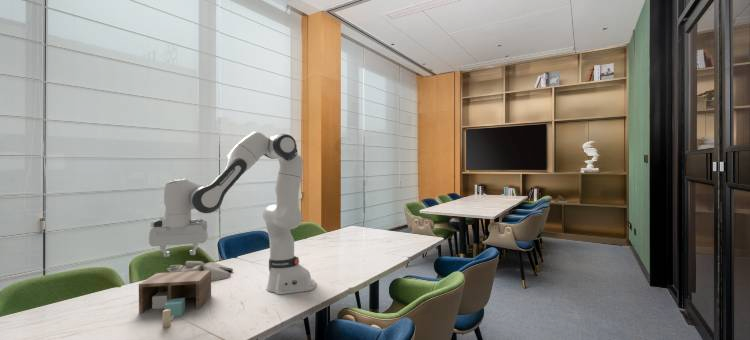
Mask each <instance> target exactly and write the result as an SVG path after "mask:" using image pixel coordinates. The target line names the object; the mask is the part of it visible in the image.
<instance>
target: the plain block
mask: <svg viewBox="0 0 750 340" xmlns="http://www.w3.org/2000/svg"><path fill="white" fill-rule="evenodd" d="M167 301H168V291H164V292H158V293H157V294H155V295H154V296H153V297H152V306H151V308H152V309H153V310H155V309H156V310H158V309H165V304H166V303H167Z"/></svg>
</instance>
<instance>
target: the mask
mask: <svg viewBox="0 0 750 340" xmlns="http://www.w3.org/2000/svg"><path fill="white" fill-rule="evenodd" d="M184 264H185V265H183V264H173V265H172V264H171V265H169V267H167V268H166V270H167V271H168V273H169V272H189V271H208V270H211V283H212V282H217V281H222V280H226V279H229V278H230V277H231V275H232V273H230V272H234V269H233V268H232V267H227V266H226V265H222V264H220V263H216V262H212V261H211V262H207V263H205V262H203V261H201V260H186V261H185V263H184Z"/></svg>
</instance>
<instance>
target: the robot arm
mask: <svg viewBox="0 0 750 340" xmlns="http://www.w3.org/2000/svg"><path fill="white" fill-rule="evenodd" d="M264 156H265V157H266V158H268V159H273V160H275V159H276V160H277V159H278V162H279V168H278V174H277V177H276V183H275V188H274V191H275V194H276V203H273V204H269V205H267V206H266V207H265V208H264V209H263V213H262V218H263V220H264V222H265V225H266V229H267V230H266V231H267V234H268V238H269V239H268V240H269V259H268V271H269V276H268V281H267V285H266V290H267V292H268V291H269V292H270V293H274V294H276V295H286V294H294V293H302V292H309V291H313V290H314V289H315V288H316V286H317V284H316V283H317V282H316V281H315V279H313V278H312V276H311V273H310V271H309V270H308V269H307V268H306V267H304V266H302V265H301V264H300V258H299V256H296V255H295V239H294V237H293V235H292V233H291V230H295V229H297V228H298V227H299V226H300V225H301V224H302V220H303V214H302V212H301V209H300V195H299V194H300V187H301V181H302V176H303V169H304V162H303V161H304V160H303V157H302V156H301V155H299V154H298V149H297V142H296V140H295V138H294V137H293V136H292V135H290V134H286V133H279V134H274V135H273V136H270V137H267V136H265V134H263V133H262V132H259V131H253V132H251V133H250V134H248V135H246V136H245V137H244V138H243V139H241V140H240V141H239V142H238V143H237V144H235V146H234V147H233V148H232V149H231V150H230V152H229V153H228V154H227V158H226V161H227V164H226V167H225V169H224V170H223V171H222V172H221V173H220V174H219V175H218V176H217V177H216V178H215V180H213V182H212V183H210V184H208V185H206V186H205V185H200V184H198V183H194V182H192V181H190V180H188V179H187V178H177V179H173V180H170V181H168V182H167V183H166V184H165V185H164V191H163V203H164V207H165V212H164V217H161V218H159V219H157V220H154V221H152V222H150V228H151V229H150V230H149V234H148V244H149V246H151V247H159V249H160V251H161V252H162V253H163V257H164V258H168V257H170V256H171V254H170V252H171V251H168V250H167V246H177V245H178V246H179V245H180V246H181V245H192V247H193V248H192V249H191V250H189V255H190V256H195V255H196V253H197V252H196V250H197V248H198V246H199V244H204V243H206V242H207V241H208V238H209V236H208V231H207V230H208V222H207V221H206V220H204V219H192V210H196V211H198V212H199V213H201V214H202V213H203V214H211V213H214V212H215V211H217V210H219V208H220V207H221V206H222V203H223V201H224V198H225V196H226V194H227V192H228V191H229V190H230V189H231V188H232V187H233V186H234V184H235V183H236V182H237V181H238V180H239V179H240V178H241V176H243V175H244V174H245V173H246V172H247V171H248V170H250V169H251V168H252V167H253V166H254V165H255V164H256V163H257V162H258V161H259V160H260V159H261V157H264Z"/></svg>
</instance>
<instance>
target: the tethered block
mask: <svg viewBox="0 0 750 340" xmlns="http://www.w3.org/2000/svg"><path fill="white" fill-rule="evenodd" d="M185 311H186V298H177V299H169V300H168V301H167V303H166V304H165V308H164V310H162V328H163V329H166V328H170V327H171V325H172V324H171V322H172V321H173V319H174V318H176V317H177V318H178V317H182V316H183V314H184V313H185Z"/></svg>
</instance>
